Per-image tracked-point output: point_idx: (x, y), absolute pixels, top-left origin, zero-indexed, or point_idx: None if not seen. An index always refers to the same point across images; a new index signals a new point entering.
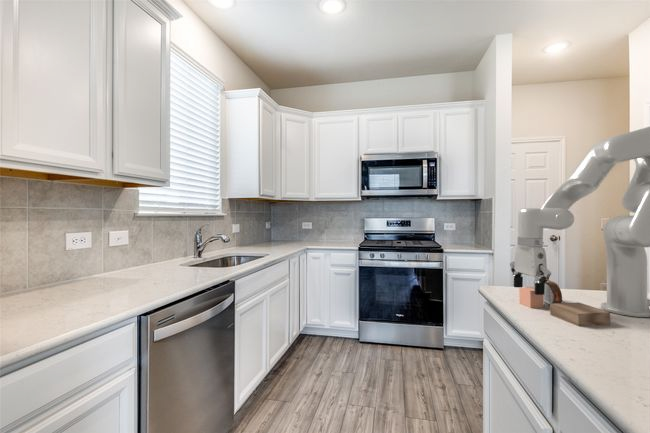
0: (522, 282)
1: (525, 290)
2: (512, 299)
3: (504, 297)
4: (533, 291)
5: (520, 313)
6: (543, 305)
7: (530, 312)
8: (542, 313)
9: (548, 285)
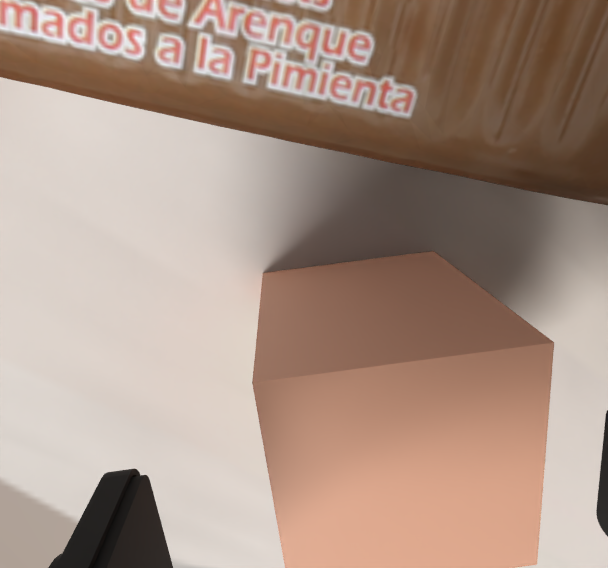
0: (116, 551)
1: (422, 561)
2: (106, 399)
3: (20, 438)
4: (536, 511)
5: (554, 549)
6: (440, 256)
7: (552, 468)
8: (603, 390)
9: (584, 199)
